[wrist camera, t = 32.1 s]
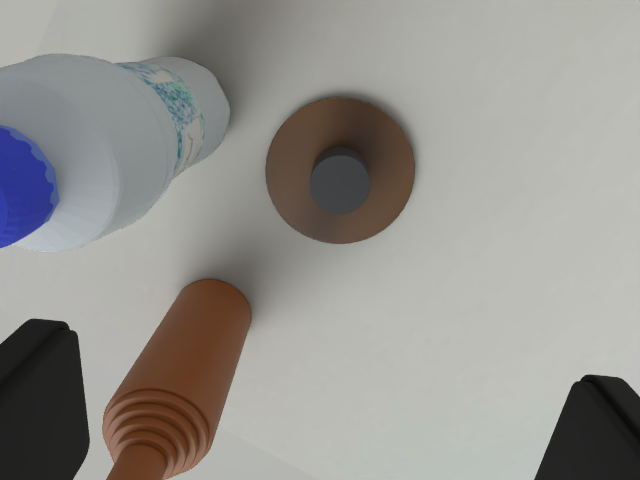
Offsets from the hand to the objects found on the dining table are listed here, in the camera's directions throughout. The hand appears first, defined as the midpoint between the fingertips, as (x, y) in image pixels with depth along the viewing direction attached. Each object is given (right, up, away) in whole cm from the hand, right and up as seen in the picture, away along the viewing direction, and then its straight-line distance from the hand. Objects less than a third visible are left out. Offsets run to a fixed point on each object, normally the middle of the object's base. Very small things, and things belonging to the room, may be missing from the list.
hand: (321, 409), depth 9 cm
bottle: (-9, +12, +21) cm, 26 cm away
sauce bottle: (-8, -2, +27) cm, 28 cm away
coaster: (+1, +8, +22) cm, 24 cm away
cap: (+1, +8, +22) cm, 23 cm away
